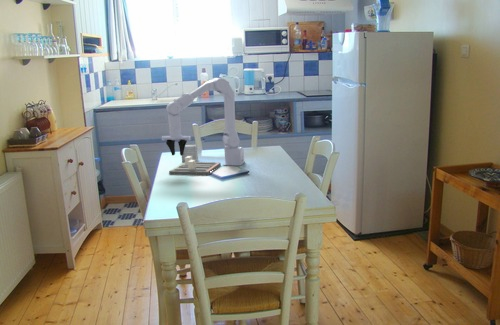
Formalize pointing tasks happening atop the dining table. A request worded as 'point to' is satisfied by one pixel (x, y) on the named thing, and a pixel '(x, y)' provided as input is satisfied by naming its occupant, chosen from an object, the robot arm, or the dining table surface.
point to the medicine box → (190, 152)
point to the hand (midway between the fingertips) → (177, 155)
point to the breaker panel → (200, 169)
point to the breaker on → (188, 159)
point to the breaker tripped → (192, 164)
